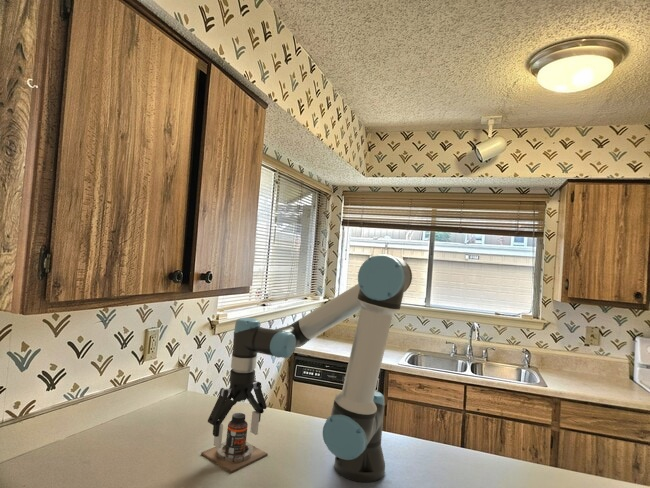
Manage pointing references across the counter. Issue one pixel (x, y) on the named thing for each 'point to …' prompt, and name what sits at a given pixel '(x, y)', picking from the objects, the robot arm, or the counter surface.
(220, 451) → the collar
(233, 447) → the supplement bottle
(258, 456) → the seat board
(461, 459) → the counter surface
